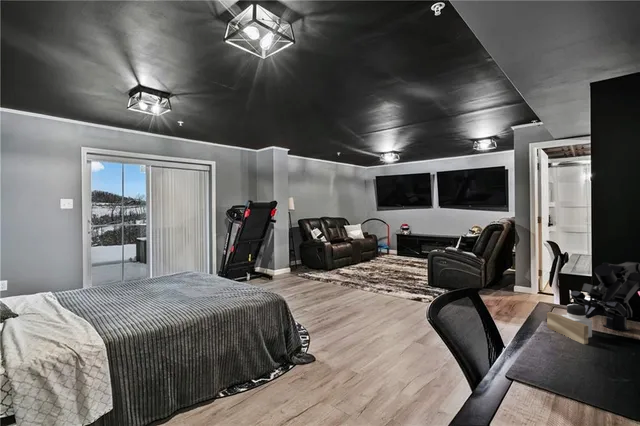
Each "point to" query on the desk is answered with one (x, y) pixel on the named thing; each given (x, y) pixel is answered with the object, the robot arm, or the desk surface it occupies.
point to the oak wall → (568, 327)
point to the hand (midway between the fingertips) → (585, 318)
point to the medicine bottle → (579, 316)
